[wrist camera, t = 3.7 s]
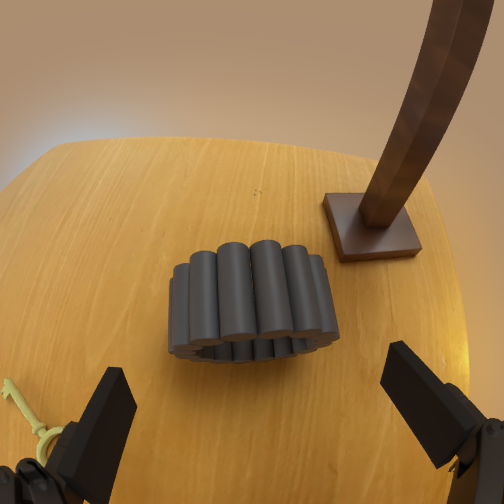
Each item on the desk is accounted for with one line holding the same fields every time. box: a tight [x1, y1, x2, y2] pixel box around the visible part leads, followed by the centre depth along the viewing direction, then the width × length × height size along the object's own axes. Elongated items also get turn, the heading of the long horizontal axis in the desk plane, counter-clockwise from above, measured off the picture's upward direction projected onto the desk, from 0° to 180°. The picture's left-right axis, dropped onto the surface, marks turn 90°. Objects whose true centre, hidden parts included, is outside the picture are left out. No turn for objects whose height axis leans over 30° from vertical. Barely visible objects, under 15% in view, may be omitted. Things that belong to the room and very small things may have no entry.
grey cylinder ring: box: [168, 240, 340, 363], centre depth 18 cm, size 5×11×11 cm, turn 95°
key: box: [0, 378, 65, 467], centre depth 15 cm, size 7×12×2 cm, turn 72°
